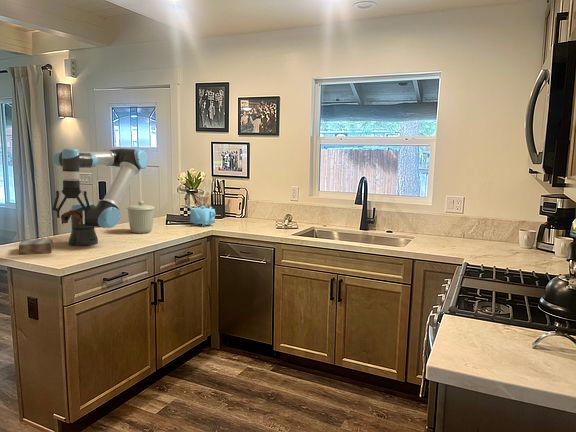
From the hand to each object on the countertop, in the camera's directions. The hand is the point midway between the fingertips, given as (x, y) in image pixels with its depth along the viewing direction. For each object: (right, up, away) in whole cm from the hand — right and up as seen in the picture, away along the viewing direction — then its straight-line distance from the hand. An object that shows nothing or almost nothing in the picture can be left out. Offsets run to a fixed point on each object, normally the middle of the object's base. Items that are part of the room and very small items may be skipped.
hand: (72, 223), depth 214 cm
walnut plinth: (-21, -14, +4) cm, 25 cm away
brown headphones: (-2, 0, +1) cm, 2 cm away
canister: (+11, -7, +68) cm, 69 cm away
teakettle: (+44, -3, +106) cm, 114 cm away
